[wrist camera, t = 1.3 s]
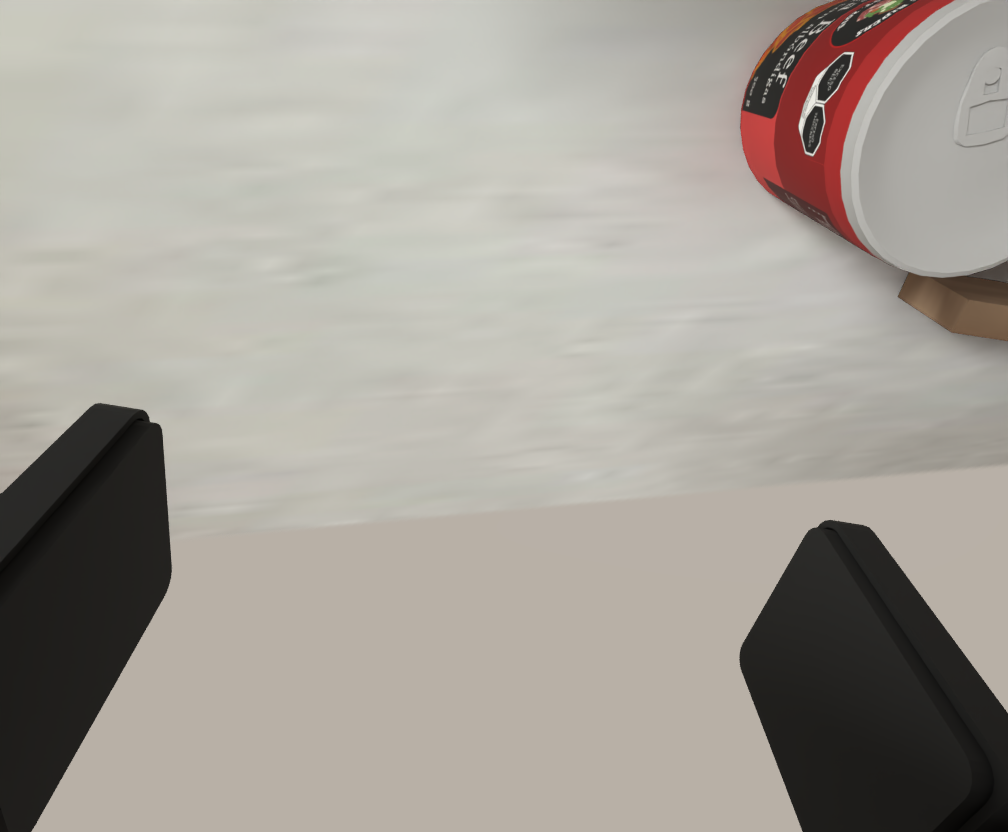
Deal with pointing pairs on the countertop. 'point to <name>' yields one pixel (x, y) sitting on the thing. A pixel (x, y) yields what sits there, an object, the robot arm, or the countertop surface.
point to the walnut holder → (961, 303)
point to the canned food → (890, 128)
